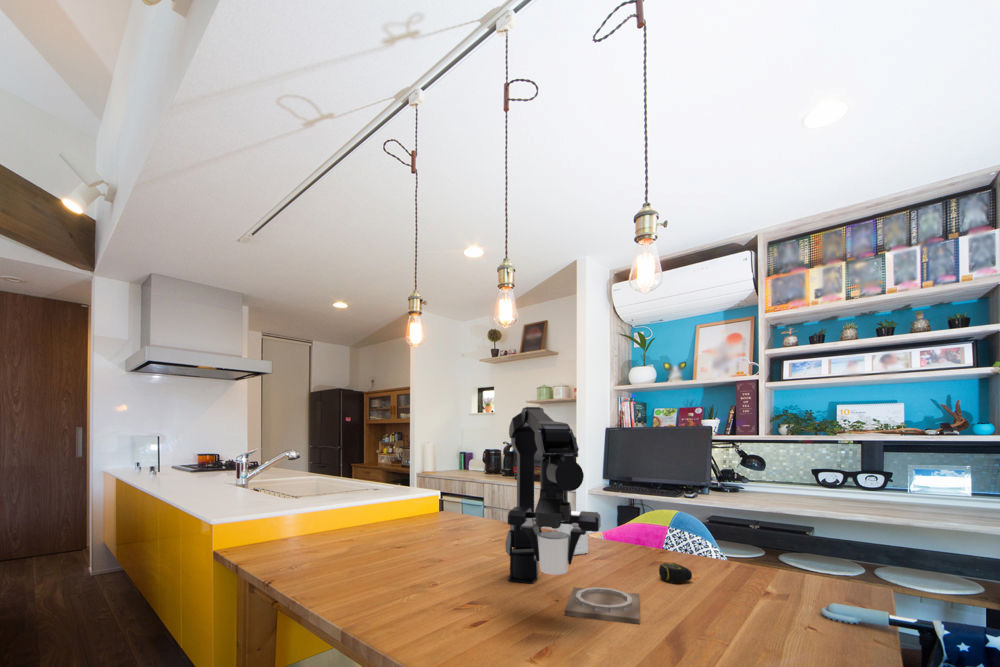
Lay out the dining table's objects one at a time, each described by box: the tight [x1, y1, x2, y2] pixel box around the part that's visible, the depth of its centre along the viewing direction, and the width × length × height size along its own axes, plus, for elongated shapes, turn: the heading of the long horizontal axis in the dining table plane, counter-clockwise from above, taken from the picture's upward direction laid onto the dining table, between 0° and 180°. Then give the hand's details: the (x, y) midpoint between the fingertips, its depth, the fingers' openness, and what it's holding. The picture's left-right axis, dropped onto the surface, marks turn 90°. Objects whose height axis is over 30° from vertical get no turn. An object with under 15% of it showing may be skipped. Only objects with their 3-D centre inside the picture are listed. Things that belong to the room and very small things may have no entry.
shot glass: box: [538, 530, 570, 576], centre depth 101 cm, size 7×7×7 cm
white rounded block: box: [555, 510, 589, 556], centre depth 150 cm, size 10×4×12 cm, turn 114°
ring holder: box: [564, 586, 641, 625], centre depth 107 cm, size 15×15×2 cm
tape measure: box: [658, 562, 693, 584], centre depth 126 cm, size 7×7×4 cm
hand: (554, 562), depth 101 cm, fingers closed on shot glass, 6 cm apart
